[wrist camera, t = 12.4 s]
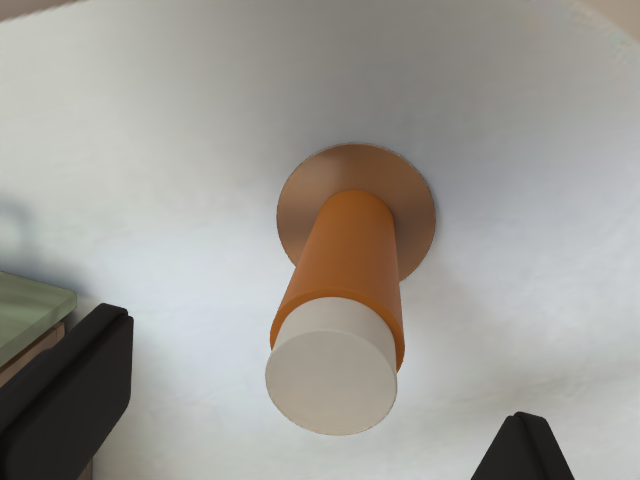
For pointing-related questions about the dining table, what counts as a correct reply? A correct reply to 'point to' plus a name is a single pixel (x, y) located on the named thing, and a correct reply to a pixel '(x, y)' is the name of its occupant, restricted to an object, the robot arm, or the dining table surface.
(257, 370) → the dining table surface
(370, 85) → the dining table surface
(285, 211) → the coaster
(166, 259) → the dining table surface
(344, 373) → the pill bottle
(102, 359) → the robot arm
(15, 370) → the drawer
